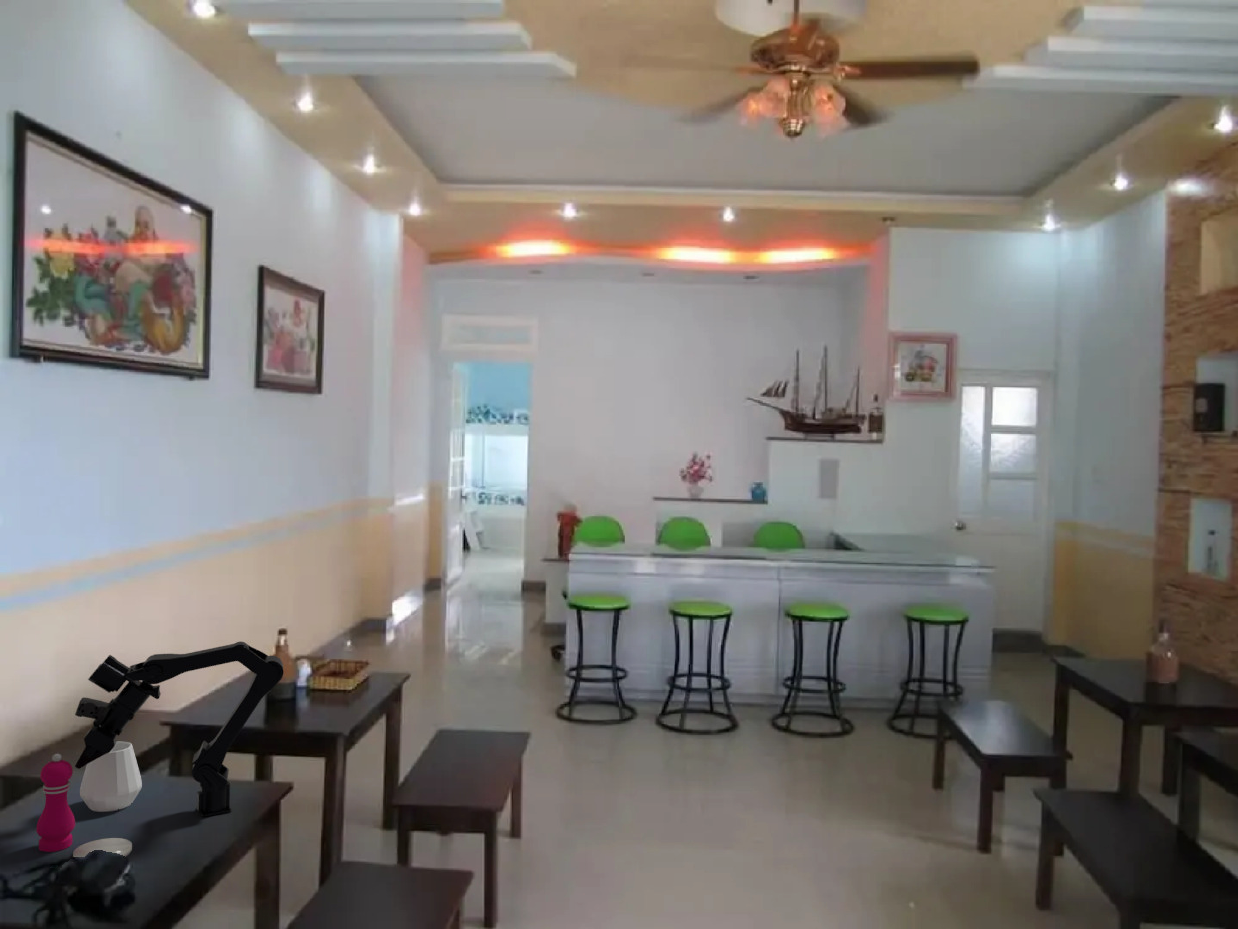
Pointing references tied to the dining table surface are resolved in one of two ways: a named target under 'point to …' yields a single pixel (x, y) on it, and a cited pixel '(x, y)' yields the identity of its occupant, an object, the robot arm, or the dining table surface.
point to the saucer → (105, 847)
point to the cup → (111, 779)
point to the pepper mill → (56, 807)
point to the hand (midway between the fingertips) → (80, 761)
